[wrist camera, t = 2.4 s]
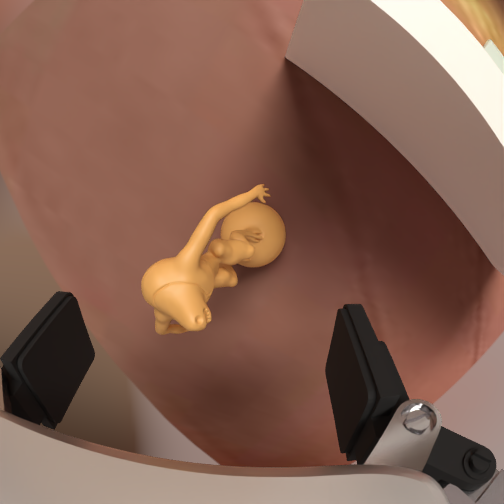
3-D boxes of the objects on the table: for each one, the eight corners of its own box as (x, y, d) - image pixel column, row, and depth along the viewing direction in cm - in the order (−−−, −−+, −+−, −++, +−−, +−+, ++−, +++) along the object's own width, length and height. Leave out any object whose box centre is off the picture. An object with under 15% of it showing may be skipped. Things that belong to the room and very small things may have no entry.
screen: (502, 252, 21) (592, 338, 9) (492, 265, 21) (578, 357, 9) (299, 39, 15) (352, -68, 4) (284, 57, 16) (316, -37, 4)
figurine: (252, 282, 23) (240, 422, 12) (177, 247, 22) (108, 369, 11) (311, 184, 20) (364, 278, 9) (227, 141, 19) (172, 181, 8)
